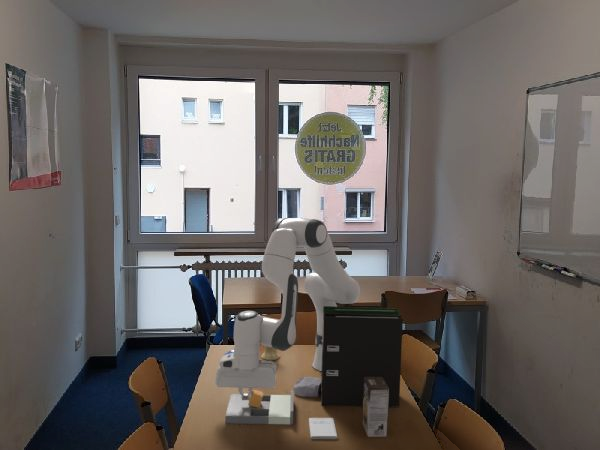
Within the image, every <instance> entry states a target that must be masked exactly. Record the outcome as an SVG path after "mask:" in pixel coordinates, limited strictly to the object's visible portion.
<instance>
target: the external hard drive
mask: <svg viewBox="0 0 600 450" xmlns="http://www.w3.org/2000/svg"><path fill="white" fill-rule="evenodd" d="M308 425H309V426H308V427H309V434H310V439H311V440H338V433H337V429H336V425H335V419H334V418H333V417H309V418H308Z"/></svg>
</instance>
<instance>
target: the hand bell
mask: <svg viewBox="0 0 600 450" xmlns="http://www.w3.org/2000/svg"><path fill="white" fill-rule="evenodd" d="M264 347H265V348H264V352H263V353H262V354H260V355H261V356H260V358H261V359H262V360H265V361H276V360H279V359H280V358H281V355H280V353H279V352H278V351H277V350H278V349H275V348H273V347H268V346H264Z"/></svg>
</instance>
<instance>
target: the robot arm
mask: <svg viewBox="0 0 600 450" xmlns="http://www.w3.org/2000/svg"><path fill="white" fill-rule="evenodd" d="M297 248H298V249H300V248H304V250H305V254H306V257H307V260H308V263H309V266H310V268H311V270H312V271H313V272H310V273H308V274H307V275H306V277H305V280H304V284H303V285H304V291H305V292H306V294H307V295H308V296H309V297H310V299H311V300H312V303H313V305H314V307H315V311H316V323H317V324H316V333H315V354H314V358H313V361H312V365H311V366H312V367H313V368H314V369H315V370H316V371H320V372H322V335H323V306H333V307H338V305H337V304H342V305H345V304H355V303H356V302H357V300H358V299H359V297H360V294H361V287H360V284H359V282H358V280H356V279H354V278H353V277H351V276H350V275H349V273H348V272H347V271H346V270H345V269H344V266H342V264H341V262H339V259H338V257H337V254H336V251H335V248H334V245H333V241H332V239H331V237H330V234H329V231H328V229H327V226H326V225H325V223H324V221H321V220H319V219H316V218H306V217H297V218H296V217H295V218H285V217H284V218H281V219H278V220H276V222H275V223H274V225H273V227H272V230H271V235H270V237H269V239H268V242H267V244H266V247H265V250H264V254H263V257H262V262H261V272H262V273H263V274H262V275H263V276H264V277H265V278H266V280H267V281H269V282H270V283H272V284H273V285H275V286H276V287H277V288H279V290H280V291H281V293H282V294H281V295H282V304H281V316H280V319H278V318H272V317H268V316H263V315H260V314H259V313H258V312H257V311H254V310H244V311H240V312H239V313H238V314H237V315H236V317H235V320H234V324H233V341H234V347H233V353H230V354H227V353H226V354H227V355H224V354H223V355H222V356H221V358H220V360H219V366H218V368H217V371H216V376H215V386H216V387H217V388H229V389H230V388H233V389H234V388H235V389H236V388H237V389H238V393H239V394H241V395H242V397H241V400H249V399H250V394H251V393H252V391H253V390H254V389H266V390H267V389H270V390H272V389H274V388H275V387H276V383H277V380H276V379H277V378H276V374H277V371H278V364H277V363H276V362H275V361H274V360H265V359H262V360H261V359H260V358H261V356H260V355H261V350H260V346H264V347H266V346H268V347H273V348H275V349H276V350H279V351H281V352H285V351H287V350H289V349H290V348H292V347H293V346H294V345H295V343H296V342H297V341H296V340H297V335H298V333H297V332H298V330H297V312H298V300H299V299H298V298H299V280H298V278H297V276H296V275H295V273H294V263H295V258H296V254H297V252H296V251H297ZM243 389H248V392H247V393H246V392H244V390H243Z"/></svg>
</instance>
